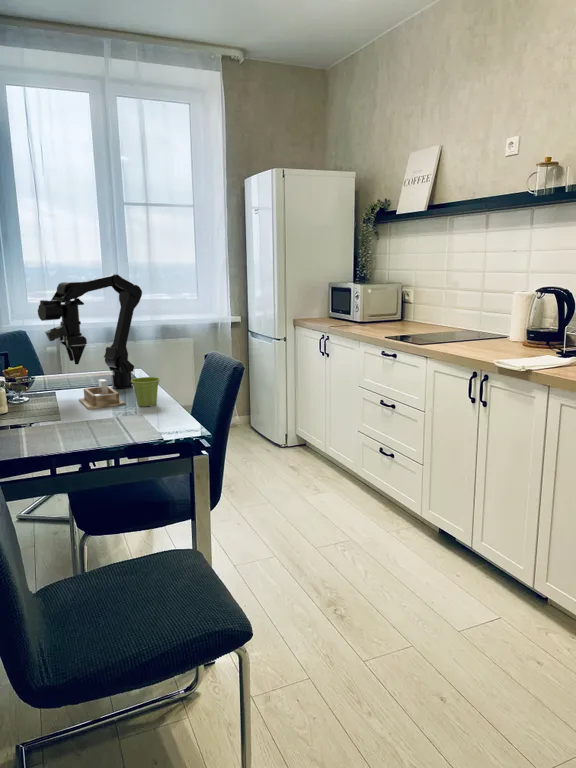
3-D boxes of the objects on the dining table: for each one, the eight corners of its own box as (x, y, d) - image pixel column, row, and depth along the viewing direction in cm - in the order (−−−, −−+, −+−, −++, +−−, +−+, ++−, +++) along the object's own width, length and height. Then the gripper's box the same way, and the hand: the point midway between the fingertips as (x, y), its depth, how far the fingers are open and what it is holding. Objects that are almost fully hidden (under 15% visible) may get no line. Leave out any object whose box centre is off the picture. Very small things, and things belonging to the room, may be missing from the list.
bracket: (105, 398, 202) (104, 378, 201) (108, 401, 199) (107, 380, 198) (92, 400, 200) (90, 380, 199) (95, 402, 197) (93, 382, 195)
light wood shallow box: (113, 396, 209) (113, 385, 208) (125, 404, 196) (124, 392, 196) (78, 400, 203) (78, 389, 202) (88, 409, 190) (87, 397, 190)
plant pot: (126, 406, 194) (124, 380, 192) (145, 400, 202) (144, 375, 200) (148, 409, 189) (146, 383, 188) (167, 403, 197) (165, 378, 196)
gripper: (41, 317, 209) (45, 361, 212) (50, 321, 193) (54, 368, 197) (74, 316, 215) (77, 358, 218) (85, 320, 199) (88, 365, 202)
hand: (74, 362), depth 208 cm, fingers open, 9 cm apart
